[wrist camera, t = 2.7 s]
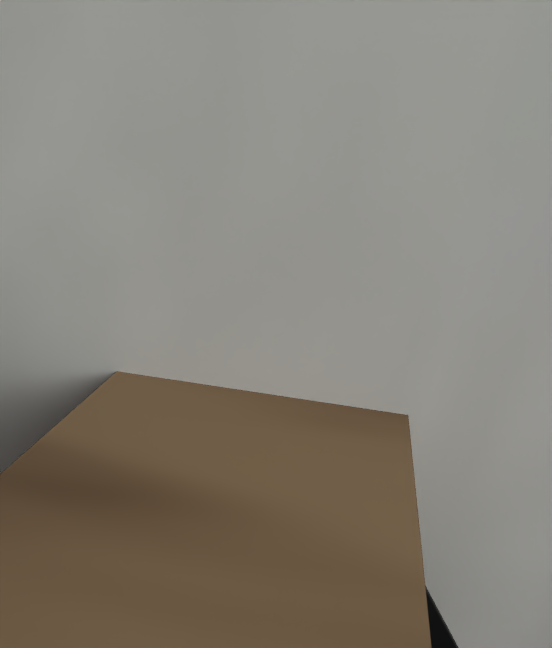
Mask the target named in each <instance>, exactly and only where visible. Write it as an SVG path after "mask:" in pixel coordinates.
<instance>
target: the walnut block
mask: <svg viewBox="0 0 552 648" xmlns="http://www.w3.org/2000/svg"><path fill="white" fill-rule="evenodd" d="M0 648H431V638H430V628H429V618H428V608H427V598H426V588H425V578H424V568H423V558H422V548H421V538H420V528H419V518H418V508H417V498H416V488H415V478H414V468H413V459H412V449H411V439H410V429H409V419H408V415H403V414H396V413H390V412H383V411H376V410H370V409H363V408H356V407H350V406H343V405H336V404H330V403H323V402H316V401H310V400H303V399H296V398H290V397H283V396H276V395H270V394H263V393H256V392H250V391H243V390H237V389H230V388H223V387H217V386H210V385H203V384H197V383H190V382H183V381H177V380H170V379H163V378H157V377H150V376H143V375H137V374H130V373H123V372H116V373H114V374H113V375H112V376H111V377H110V378H109V379H108V380H107V381H105V382H104V383H103V384H102V385H101V386H100V387H99V388H97V389H96V390H95V391H94V392H93V393H92V394H91V395H90V396H88V397H87V398H86V399H85V400H84V401H83V402H82V403H80V404H79V405H78V406H77V407H76V408H75V409H74V410H73V411H71V412H70V413H69V414H68V415H67V416H66V417H65V418H63V419H62V420H61V421H60V422H59V423H58V424H57V425H56V426H54V427H53V428H52V429H51V430H50V431H49V432H48V433H46V434H45V435H44V436H43V437H42V438H41V439H40V440H38V441H37V442H36V443H35V444H34V445H33V446H32V447H31V448H29V449H28V450H27V451H26V452H25V453H24V454H23V455H21V456H20V457H19V458H18V459H17V460H16V461H15V462H14V463H12V464H11V465H10V466H9V467H8V468H7V469H6V470H4V471H3V472H2V473H1V474H0Z"/></svg>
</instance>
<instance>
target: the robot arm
mask: <svg viewBox="0 0 552 648" xmlns="http://www.w3.org/2000/svg"><path fill="white" fill-rule="evenodd" d="M425 588H426V586H425ZM426 598H427V608H428V618H429V628H430V638H431V648H458V646H457V644H456V642H455V640H454V639H453V637H452V635H451V633H450V631H449V629H448V627H447V625H446V624H445V622H444V620H443V618H442V616H441V614H440V612H439V610H438V609H437V607H436V605H435V603H434V601H433V599H432V597H431V595H430V594H429V592H428V590H427V588H426Z"/></svg>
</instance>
